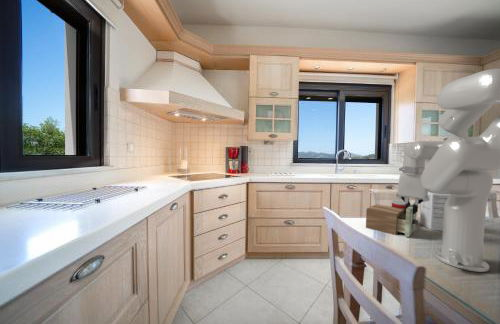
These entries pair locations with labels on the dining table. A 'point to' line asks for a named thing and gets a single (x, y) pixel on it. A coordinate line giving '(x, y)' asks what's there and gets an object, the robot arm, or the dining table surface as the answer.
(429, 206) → the supplement box
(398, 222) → the drawer
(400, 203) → the canned food
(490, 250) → the dining table surface
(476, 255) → the robot arm
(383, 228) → the cabinet
